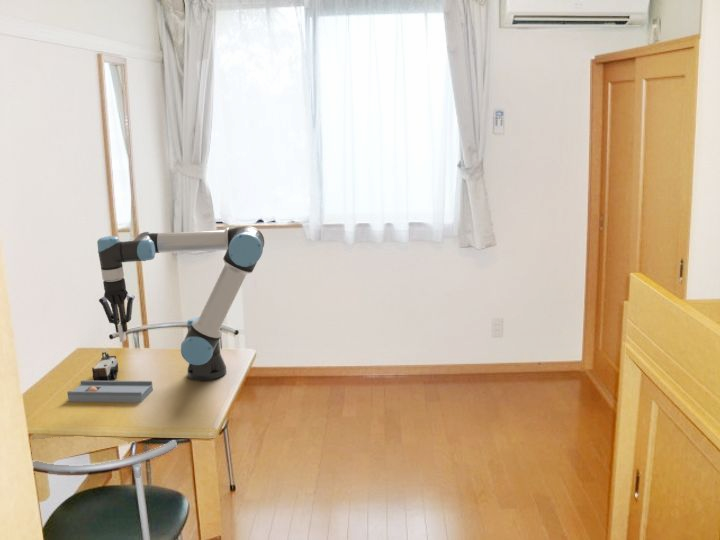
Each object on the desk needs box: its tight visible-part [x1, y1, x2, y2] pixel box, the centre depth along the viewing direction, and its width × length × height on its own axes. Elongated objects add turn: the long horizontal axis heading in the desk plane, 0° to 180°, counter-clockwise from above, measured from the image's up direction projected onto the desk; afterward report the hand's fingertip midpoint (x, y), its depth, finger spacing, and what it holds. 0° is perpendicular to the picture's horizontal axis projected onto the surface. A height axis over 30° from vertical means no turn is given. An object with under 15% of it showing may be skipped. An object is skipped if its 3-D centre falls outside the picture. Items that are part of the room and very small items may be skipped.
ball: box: [88, 387, 97, 391], centre depth 281 cm, size 4×4×4 cm
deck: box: [67, 380, 154, 403], centre depth 280 cm, size 28×11×4 cm, turn 84°
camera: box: [91, 348, 119, 381], centre depth 298 cm, size 15×8×10 cm, turn 0°
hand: (123, 340), depth 279 cm, fingers closed
